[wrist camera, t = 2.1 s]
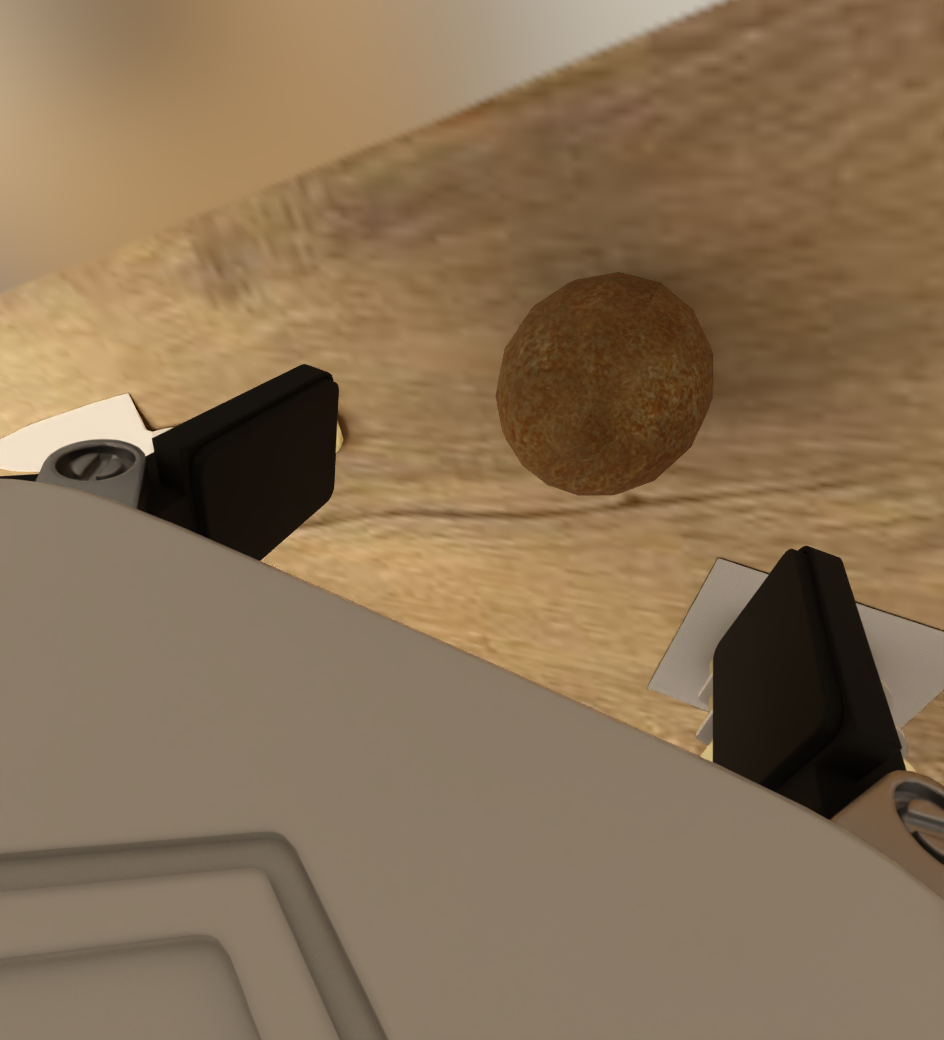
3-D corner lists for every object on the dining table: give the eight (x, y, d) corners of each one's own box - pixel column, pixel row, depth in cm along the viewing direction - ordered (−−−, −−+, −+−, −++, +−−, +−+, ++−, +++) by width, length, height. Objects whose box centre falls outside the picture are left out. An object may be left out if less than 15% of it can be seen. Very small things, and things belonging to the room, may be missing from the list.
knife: (-49, 423, 38) (-20, 484, 39) (314, 361, 24) (339, 460, 25) (-28, 419, 39) (-1, 478, 40) (332, 358, 25) (355, 453, 26)
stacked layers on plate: (647, 687, 28) (633, 783, 23) (718, 557, 22) (717, 651, 18) (855, 768, 26) (882, 890, 21) (989, 646, 20) (1061, 777, 16)
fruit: (504, 340, 21) (412, 419, 15) (639, 207, 17) (590, 239, 11) (607, 458, 22) (562, 579, 16) (755, 359, 18) (772, 467, 12)
